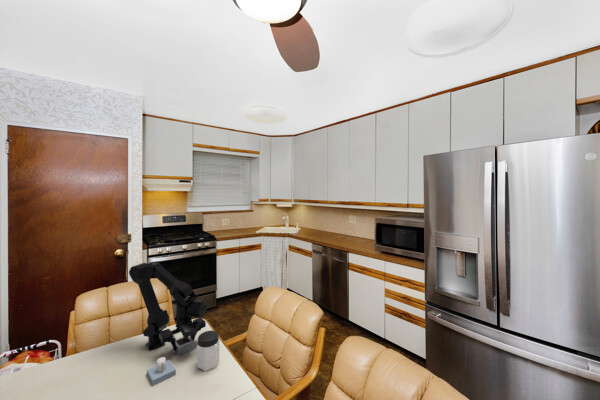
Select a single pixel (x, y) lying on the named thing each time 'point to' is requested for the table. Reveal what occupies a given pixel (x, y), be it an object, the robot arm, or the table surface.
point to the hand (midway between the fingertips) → (183, 347)
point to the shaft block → (161, 371)
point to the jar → (208, 350)
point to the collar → (184, 345)
